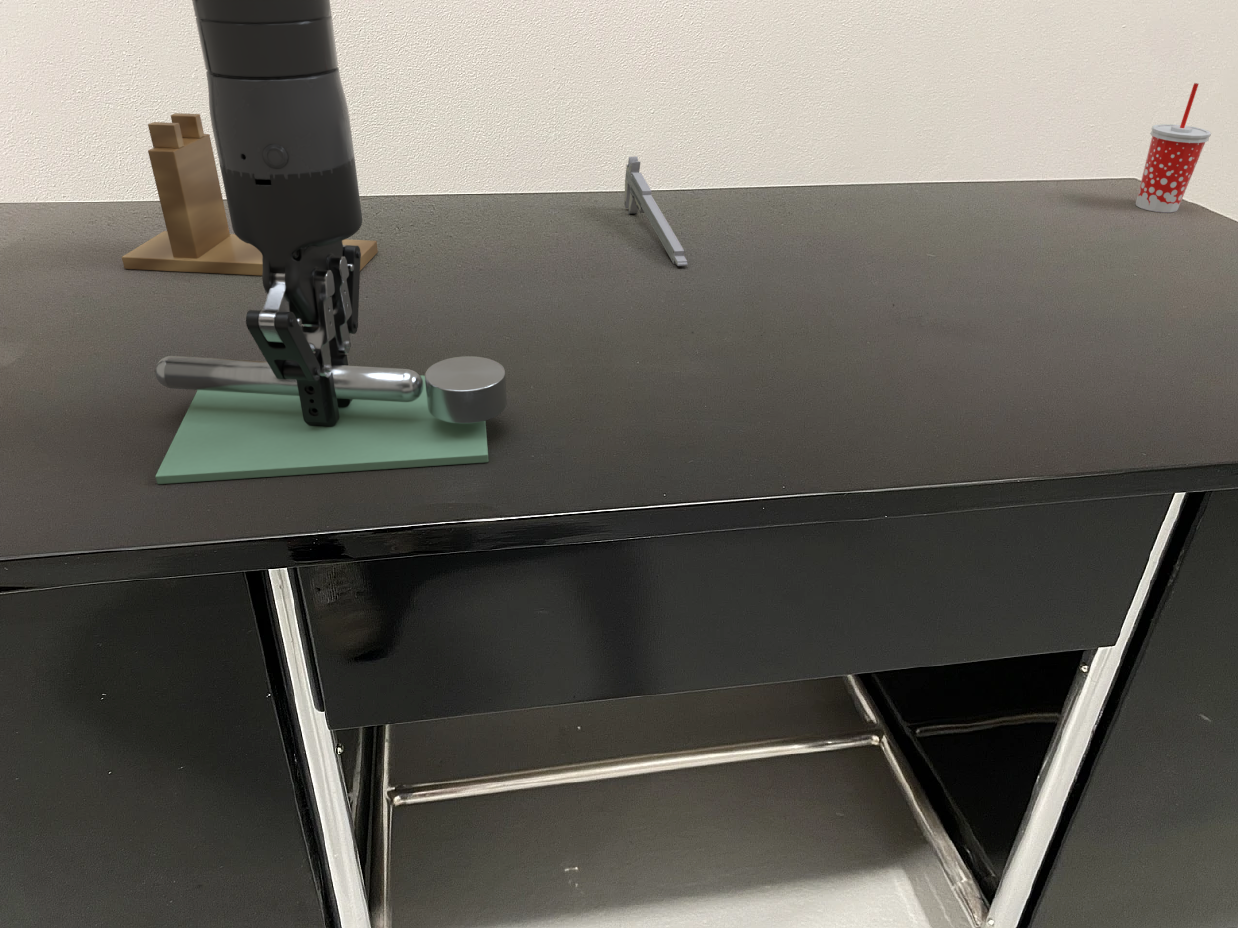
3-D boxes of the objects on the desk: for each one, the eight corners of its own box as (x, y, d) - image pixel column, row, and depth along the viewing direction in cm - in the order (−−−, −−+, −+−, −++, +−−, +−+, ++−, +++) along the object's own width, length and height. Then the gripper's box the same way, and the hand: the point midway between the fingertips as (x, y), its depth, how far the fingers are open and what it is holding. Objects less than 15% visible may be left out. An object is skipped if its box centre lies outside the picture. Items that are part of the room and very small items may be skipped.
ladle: (141, 405, 61) (132, 371, 60) (180, 370, 65) (172, 339, 64) (498, 426, 60) (496, 393, 58) (513, 389, 64) (511, 358, 63)
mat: (157, 484, 57) (154, 476, 56) (200, 394, 67) (198, 387, 66) (488, 462, 59) (488, 454, 59) (482, 379, 69) (481, 372, 69)
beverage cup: (1182, 217, 109) (1225, 90, 101) (1125, 208, 112) (1163, 84, 104) (1186, 205, 113) (1228, 82, 106) (1131, 197, 116) (1168, 77, 109)
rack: (124, 269, 88) (85, 125, 81) (166, 242, 95) (133, 108, 88) (352, 280, 86) (331, 135, 80) (378, 252, 93) (361, 116, 86)
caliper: (623, 209, 107) (624, 153, 104) (632, 209, 108) (634, 153, 104) (677, 269, 91) (681, 204, 87) (688, 268, 91) (691, 204, 88)
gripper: (272, 124, 60) (312, 367, 69) (165, 180, 48) (231, 463, 57) (385, 129, 60) (411, 372, 69) (305, 187, 48) (349, 471, 57)
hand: (329, 413), depth 63 cm, fingers closed on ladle, 2 cm apart
